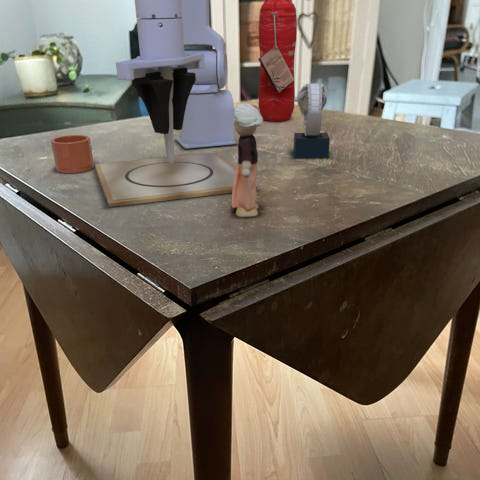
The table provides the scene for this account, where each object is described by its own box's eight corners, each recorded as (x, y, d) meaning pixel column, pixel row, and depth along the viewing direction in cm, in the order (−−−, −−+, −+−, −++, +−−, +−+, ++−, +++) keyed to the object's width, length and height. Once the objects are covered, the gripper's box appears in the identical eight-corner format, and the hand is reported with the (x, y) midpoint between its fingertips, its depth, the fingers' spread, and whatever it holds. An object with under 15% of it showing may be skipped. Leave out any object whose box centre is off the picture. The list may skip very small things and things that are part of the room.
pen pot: (92, 161, 89) (88, 133, 87) (95, 171, 84) (91, 141, 82) (55, 165, 87) (50, 136, 85) (57, 174, 83) (51, 144, 80)
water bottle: (290, 127, 110) (294, -18, 97) (251, 125, 111) (251, -17, 98) (297, 115, 120) (302, -17, 107) (262, 114, 121) (262, -16, 109)
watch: (324, 148, 94) (329, 80, 88) (329, 160, 87) (334, 87, 81) (292, 148, 94) (294, 80, 89) (294, 160, 87) (297, 87, 82)
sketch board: (216, 156, 91) (216, 151, 90) (255, 190, 75) (255, 184, 74) (95, 167, 86) (94, 163, 85) (109, 207, 69) (108, 201, 69)
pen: (175, 159, 78) (167, 52, 71) (183, 163, 76) (175, 53, 69) (159, 162, 77) (149, 53, 70) (167, 166, 75) (157, 55, 68)
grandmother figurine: (229, 202, 70) (226, 98, 64) (258, 201, 70) (258, 97, 64) (233, 224, 64) (231, 110, 57) (266, 222, 64) (267, 109, 57)
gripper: (174, 16, 75) (181, 119, 82) (93, 20, 65) (109, 137, 72) (214, 16, 71) (218, 124, 78) (134, 21, 61) (147, 144, 68)
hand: (168, 131), depth 75 cm, fingers closed on pen, 2 cm apart
